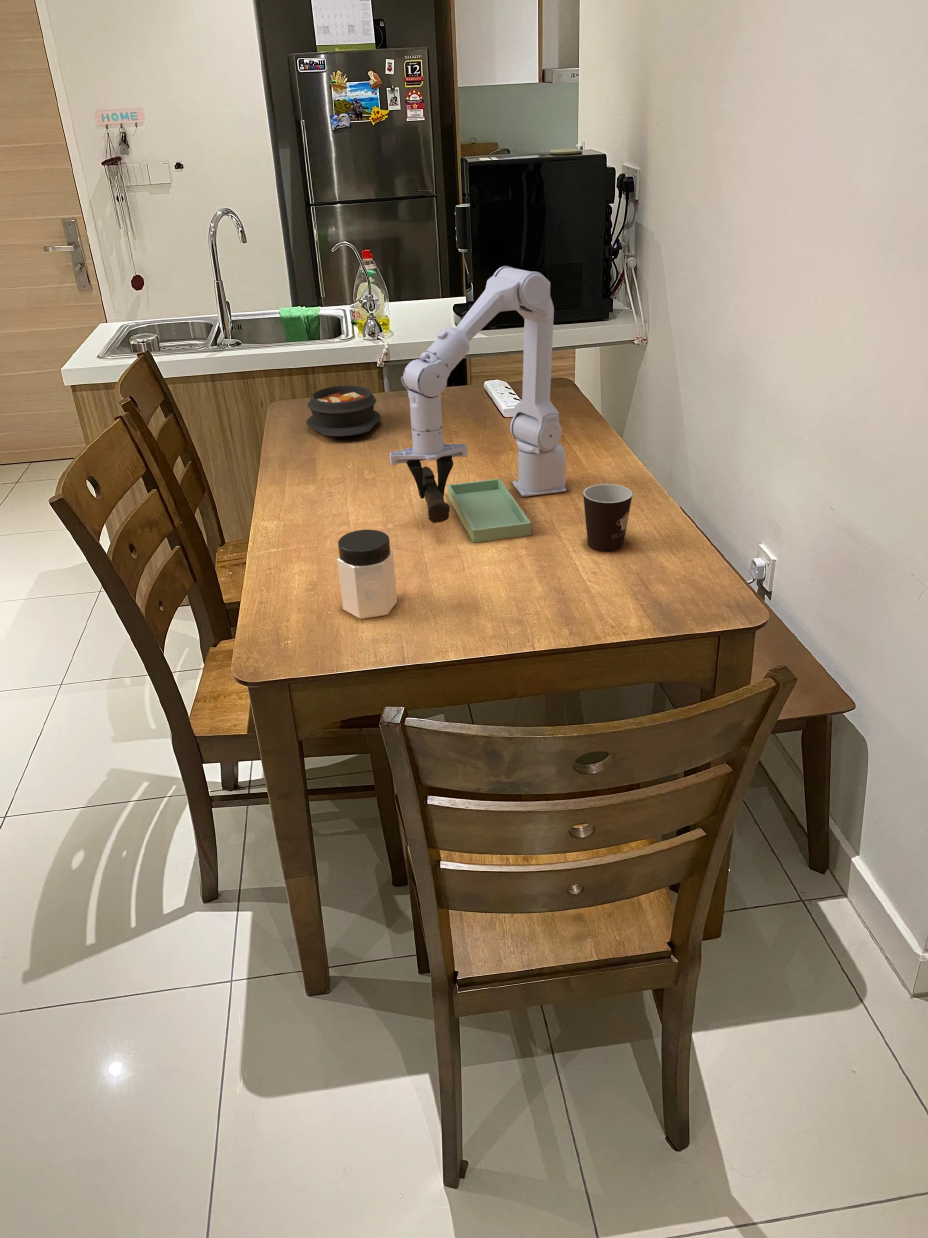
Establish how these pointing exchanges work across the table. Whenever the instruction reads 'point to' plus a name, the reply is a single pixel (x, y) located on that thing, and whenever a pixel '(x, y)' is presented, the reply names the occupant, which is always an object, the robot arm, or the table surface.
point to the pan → (488, 510)
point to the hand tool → (434, 498)
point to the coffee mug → (606, 516)
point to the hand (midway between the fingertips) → (431, 495)
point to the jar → (366, 573)
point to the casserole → (342, 411)
